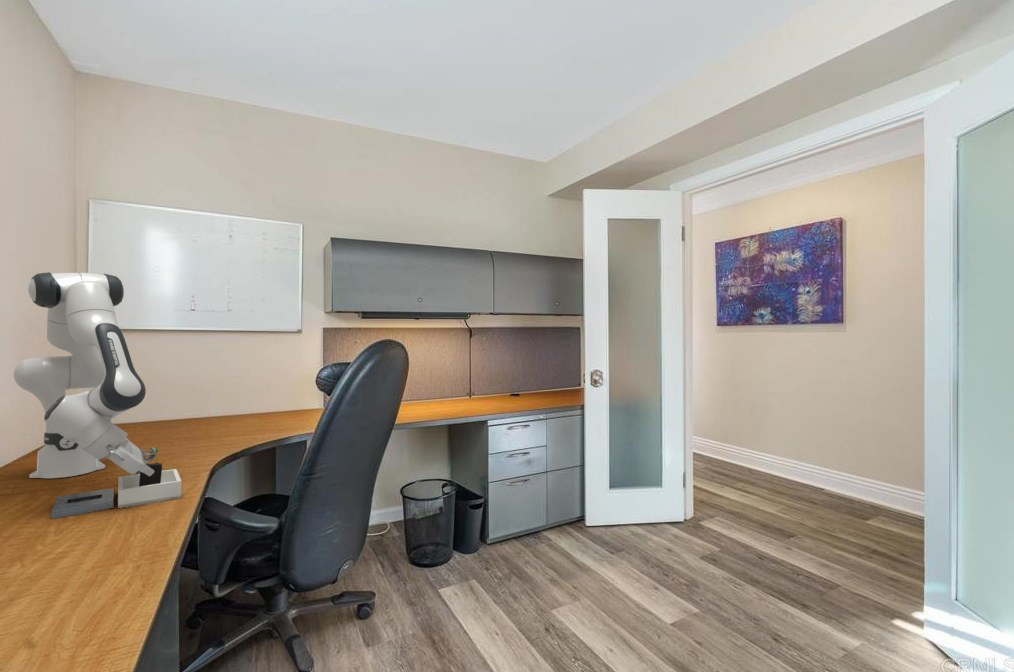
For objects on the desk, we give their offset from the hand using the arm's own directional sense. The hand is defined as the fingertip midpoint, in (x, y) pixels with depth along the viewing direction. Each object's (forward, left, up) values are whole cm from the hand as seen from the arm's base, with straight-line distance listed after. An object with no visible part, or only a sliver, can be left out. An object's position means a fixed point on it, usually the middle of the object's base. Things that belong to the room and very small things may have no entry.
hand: (152, 472), depth 140 cm
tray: (0, -1, -7) cm, 7 cm away
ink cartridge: (-1, -1, -6) cm, 6 cm away
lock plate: (0, -15, -7) cm, 16 cm away
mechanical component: (-18, -3, -7) cm, 19 cm away
